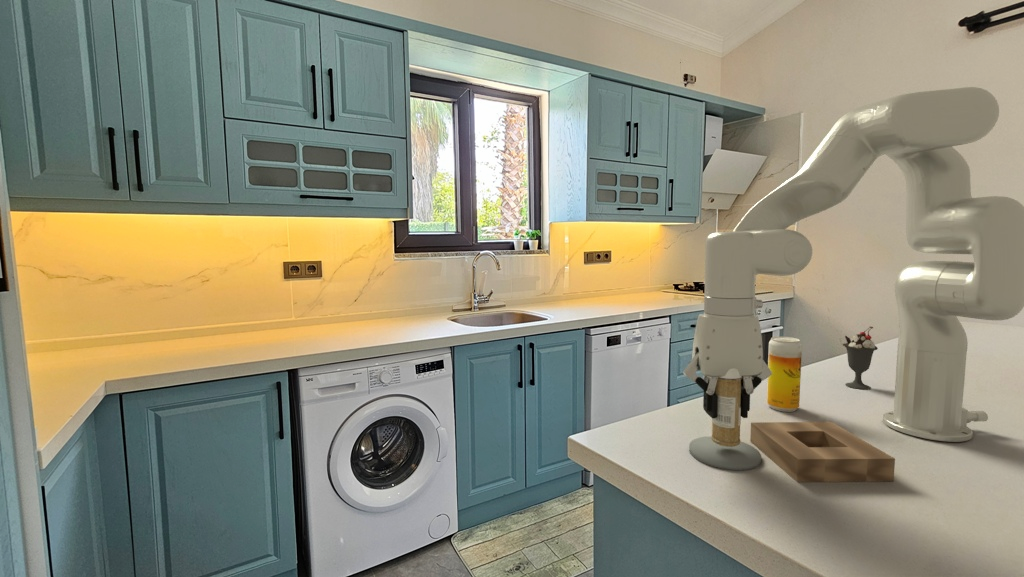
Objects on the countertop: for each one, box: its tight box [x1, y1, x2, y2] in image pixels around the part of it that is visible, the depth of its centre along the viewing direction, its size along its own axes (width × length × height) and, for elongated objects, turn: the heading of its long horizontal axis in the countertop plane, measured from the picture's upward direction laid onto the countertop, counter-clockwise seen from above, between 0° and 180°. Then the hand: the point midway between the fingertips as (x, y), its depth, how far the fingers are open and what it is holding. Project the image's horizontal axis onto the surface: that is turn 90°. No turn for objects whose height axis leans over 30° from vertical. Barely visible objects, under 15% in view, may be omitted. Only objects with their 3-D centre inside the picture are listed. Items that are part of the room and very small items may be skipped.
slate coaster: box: [688, 435, 762, 471], centre depth 79 cm, size 11×11×1 cm
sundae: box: [842, 326, 878, 390], centre depth 113 cm, size 7×7×15 cm
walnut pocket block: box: [749, 421, 896, 483], centre depth 76 cm, size 14×14×4 cm
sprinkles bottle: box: [711, 369, 742, 447], centre depth 78 cm, size 5×5×14 cm
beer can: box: [766, 336, 803, 413], centre depth 99 cm, size 6×6×15 cm
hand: (726, 414), depth 78 cm, fingers closed on sprinkles bottle, 4 cm apart
